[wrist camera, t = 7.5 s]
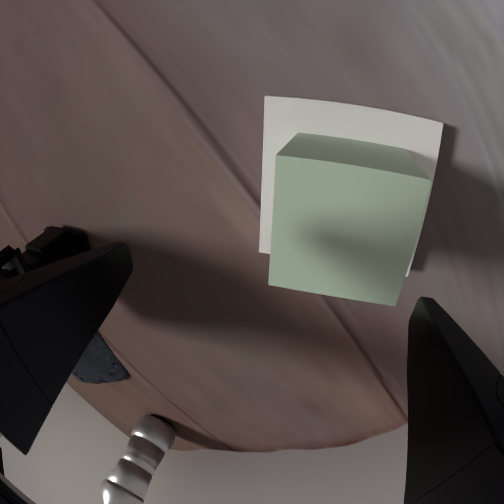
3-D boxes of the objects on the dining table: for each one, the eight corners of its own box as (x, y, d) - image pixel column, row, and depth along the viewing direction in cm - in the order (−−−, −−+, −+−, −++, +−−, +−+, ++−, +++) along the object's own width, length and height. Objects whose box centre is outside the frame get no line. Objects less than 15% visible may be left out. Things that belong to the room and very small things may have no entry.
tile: (405, 267, 20) (407, 276, 19) (263, 243, 22) (259, 252, 21) (437, 120, 15) (443, 123, 14) (269, 95, 17) (264, 95, 16)
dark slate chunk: (80, 371, 45) (65, 391, 41) (5, 262, 36) (-16, 278, 33) (139, 378, 39) (122, 404, 35) (45, 238, 30) (16, 259, 26)
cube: (385, 244, 18) (395, 306, 13) (290, 228, 20) (268, 284, 15) (404, 148, 15) (431, 180, 10) (298, 132, 16) (275, 155, 12)
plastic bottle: (150, 406, 41) (88, 512, 25) (186, 430, 42) (133, 535, 26) (137, 413, 45) (81, 506, 28) (170, 435, 46) (121, 528, 29)
